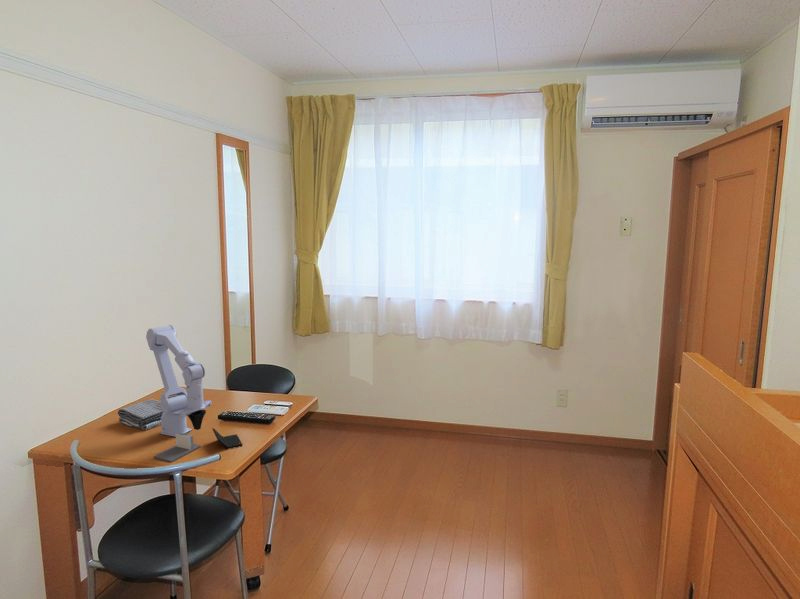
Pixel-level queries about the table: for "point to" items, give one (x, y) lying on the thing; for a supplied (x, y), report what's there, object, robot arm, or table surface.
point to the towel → (142, 414)
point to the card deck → (184, 441)
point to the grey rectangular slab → (175, 453)
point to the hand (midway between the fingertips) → (197, 428)
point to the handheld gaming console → (228, 440)
